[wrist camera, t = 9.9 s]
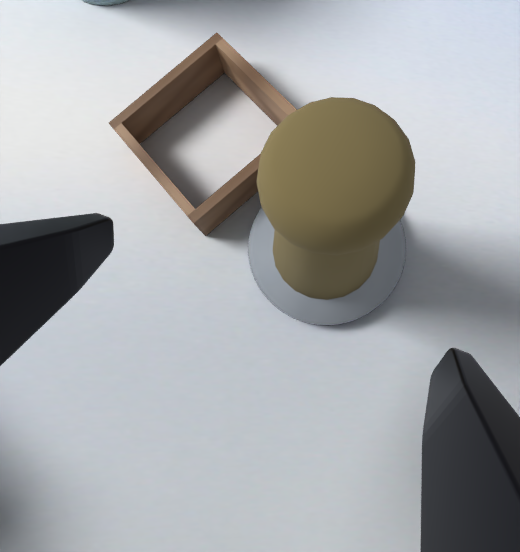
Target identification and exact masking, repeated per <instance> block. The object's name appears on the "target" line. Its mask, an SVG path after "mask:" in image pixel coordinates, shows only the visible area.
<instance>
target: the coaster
mask: <svg viewBox="0 0 520 552" xmlns="http://www.w3.org/2000/svg"><path fill="white" fill-rule="evenodd" d="M274 231H275V229H274V228H273V226H272V224H271V223H270V221H269V219H268V217H267V216H266V214H265V212H264V211H263V208H262V207H261V209H260V210H259V212H258V214H257V215H256V218H255V220H254V222H253V225H252V228H251V231H250V236H249V242H248V256H249V263H250V267H251V271H252V274H253V276H254V279H255V281H256V283H257V285H258V286H259V288H260V290H261V291H262V292H263V294H264V295H265V296H266V298H267V299H268V300H269V301H270V302H271V303H272V304H273V305H274V306H275V307H277V308H278V309H279V310H280V311H282V312H283V313H285V314H287V315H288V316H290V317H292V318H294V319H297V320H299V321H302V322H306V323H309V324H316V325H337V324H343V323H347V322H351V321H353V320H356V319H358V318H361V317H362V316H364V315H366V314H368V313H369V312H371V311H372V310H374V309H375V308H376V307H378V306H379V305H380V304H381V303H382V302H383V301H384V300H385V299H386V298H387V297H388V296H389V295H390V293H391V292H392V291H393V290H394V288H395V286H396V284H397V283H398V281H399V279H400V276H401V274H402V271H403V267H404V263H405V256H406V240H405V235H404V230H403V227H402V224H401V221H400V220H399V222H398V223H397V224H396V225H395V226H394V227H393V228H392V229H391V230H390V231H389V232H388V233H387V234H386V236H385V237H384V238H383V239H381V240H380V244H379V251H378V258H377V262H376V265H375V267H374V269H373V271H372V273H371V276H370V277H369V278H368V279H367V280H366V281H365V282H364V284H363V285H362V286H361V287H360V288H359V289H357V290H355V291H353V292H352V293H350V294H348V295H346V296H344V297H340V298H334V299H329V300H324V299H316V298H310V297H307V296H305V295H303V294H301V293H299V292H296V291H295V290H294V289H293V288H291V287H290V286H289V285H288V284H287V283H286V282H285V281H284V280H283V279H282V277H281V275H280V273H279V272H278V270H277V268H276V266H275V261H274V256H273V251H272V250H273V241H274Z"/></svg>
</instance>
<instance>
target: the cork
mask: <svg viewBox="0 0 520 552" xmlns="http://www.w3.org/2000/svg"><path fill="white" fill-rule="evenodd" d="M414 176H415V159H414V156H413V152H412V149H411V145H410V142H409V139H408V138H407V136H406V135H405V134H404V132H403V131H402V129H401V128H400V127H399V125H398V124H397V122H396V121H395V120H394V119H393V118H391V117H390V116H389V115H387V114H386V113H384V112H383V111H382V110H380V109H379V108H377V107H376V106H375V105H372V104H369V103H366V102H363V101H360V100H357V99H354V98H333V97H331V98H327V99H323V100H319V101H315V102H311V103H309V104H307V105H305V106H303V107H302V108H300V109H298V110H296V111H295V112H293V113H291V114H290V115H288V116H287V117H286V118H285V119H284V120H283V121H282V122H281V123H280V124H279V125H278V126H277V127H276V128H275V129H274V130H273V131H272V132H271V134H270V136H269V138H268V140H267V142H266V144H265V146H264V148H263V150H262V152H261V156H260V160H259V167H258V174H257V181H256V182H257V187H258V193H259V198H260V203H261V206H262V208H263V211H264V212H265V214H266V216H267V217H268V219H269V221H270V223H271V224H272V226H273V228H274V229H275V231H274V241H273V250H272V251H273V256H274V261H275V266H276V268H277V270H278V272H279V273H280V275H281V277H282V279H283V280H284V281H285V282H286V283H287V284H288V285H289V286H290V287H291V288H293V289H294V290H295V291H296V292H299V293H301V294H303V295H305V296H307V297H310V298H316V299H324V300H329V299H334V298H340V297H344V296H346V295H348V294H350V293H352V292H353V291H355V290H357V289H359V288H360V287H361V286H362V285H363V284H364V282H365V281H366V280H367V279H368V278H369V277H370V276H371V273H372V271H373V269H374V267H375V265H376V262H377V258H378V251H379V244H380V240H381V239H383V238H384V237H385V236H386V234H387V233H388V232H389V231H390V230H391V229H392V228H393V227H394V226H395V225H396V224H397V223H398V222H399V220H400V219H401V218H402V216H403V215H404V213H405V210H406V208H407V206H408V204H409V201H410V199H411V197H412V195H413V190H414Z"/></svg>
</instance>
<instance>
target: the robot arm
mask: <svg viewBox="0 0 520 552" xmlns="http://www.w3.org/2000/svg"><path fill="white" fill-rule="evenodd" d="M113 246H114V232H113V221H112V219H111V218H109V217H107V216H104V215H101V214H98V213H93V214H85V215H76V216H68V217H59V218H51V219H42V220H33V221H25V222H16V223H8V224H0V366H1V365H2V364H3V363H4V362H5V361H6V360H7V359H8V358H9V357H10V356H11V355H12V354H13V353H15V352H16V351H17V350H18V349H19V348H20V347H21V346H22V345H23V344H24V343H25V342H26V341H27V340H28V339H29V338H30V337H31V336H32V335H33V334H34V333H35V332H37V331H38V330H39V329H40V328H41V327H42V326H43V325H44V324H45V323H46V322H47V321H48V320H49V319H50V318H51V317H52V316H53V315H54V314H55V313H56V312H57V311H58V310H60V309H61V308H62V307H63V306H64V305H65V304H66V303H67V302H68V301H69V300H70V299H71V298H72V297H73V296H74V295H75V294H76V293H77V292H78V291H79V290H80V289H81V288H82V286H83V285H84V284H85V283H86V282H87V281H88V279H89V278H90V277H91V276H92V275H93V274H94V272H95V271H96V270H97V269H98V268H99V266H100V265H101V264H102V263H103V262H104V260H105V259H106V258H107V257H108V256H109V255H110V253H111V252H112V250H113ZM421 552H520V417H519V416H518V414H517V413H516V412H515V411H514V409H513V408H512V407H511V405H510V404H509V403H508V402H507V400H506V399H505V398H504V396H503V395H502V394H501V393H500V391H499V390H498V389H497V387H496V386H495V385H494V384H493V382H492V381H491V380H490V378H489V377H488V376H487V375H486V373H485V372H484V371H483V369H482V368H481V367H480V366H479V364H478V363H477V362H476V360H475V359H474V358H473V357H472V355H471V354H469V353H467V352H464V351H462V350H459V349H456V348H450V349H449V350H448V351H447V352H446V354H445V355H444V357H443V358H442V359H441V361H440V362H439V364H438V365H437V366H436V368H435V369H434V371H433V373H432V375H431V379H430V386H429V393H428V400H427V407H426V413H425V420H424V428H423V436H422V487H421Z"/></svg>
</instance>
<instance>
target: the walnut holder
mask: <svg viewBox="0 0 520 552" xmlns="http://www.w3.org/2000/svg"><path fill="white" fill-rule="evenodd" d="M224 73H225V74H226V75H227V76H228V77H229V78H230V79H231V80H232V81H233V82H234V83H235V84H236V85H237V86H238V87H239V88H240V89H241V90H242V91H243V92H244V93H245V94H246V95H247V96H248V97H249V98H250V99H251V100H252V101H253V102H254V103H255V104H256V105H257V106H258V107H259V108H260V109H261V110H262V111H263V112H264V113H265V114H266V115H267V116H268V117H269V118H270V119H271V120H272V121H273V122H274V123H275V124H276V125H277V126H278V125H279V124H280V123H281V122H282V121H283V120H284V119H285V118H286V117H287V116H288V115H290V114H291V113H293V112H295V111H296V110H297V109H296V108H295V107H294V106H293V105H292V104H290V103H289V102H288V101H287V100H286V99H285V98H284V97H283V96H282V95H281V94H280V93H279V92H278V91H277V90H276V89H275V88H274V87H273V86H272V85H271V84H270V83H269V82H268V81H267V80H266V79H265V78H264V77H263V76H262V75H260V74H259V73H258V72H257V71H256V70H255V69H254V68H253V67H252V66H251V65H250V64H249V63H248V62H247V61H246V60H245V59H244V58H243V57H242V56H241V55H240V54H239V53H238V52H237V51H236V50H235V49H234V48H233V47H231V46H230V45H229V44H228V43H227V42H226V41H225V40H224V39H223V38H222V37H221V36H220V35H219V34H218V33H216V34H214V35H213V36H212V37H211V38H210V39H208V40H207V41H206V42H205V43H204V44H202V45H201V46H200V47H199V48H198V49H196V50H195V51H194V52H193V53H192V54H190V55H189V56H188V57H187V58H186V59H184V60H183V61H182V62H181V63H180V64H178V65H177V66H176V67H175V68H174V69H173V70H171V71H170V72H169V73H168V74H167V75H165V76H164V77H163V78H162V79H161V80H159V81H158V82H157V83H156V84H155V85H153V86H152V87H151V88H150V89H149V90H147V91H146V92H145V93H144V94H143V95H141V96H140V97H139V98H138V99H137V100H135V101H134V102H133V103H132V104H131V105H129V106H128V107H127V108H126V109H125V110H124V111H122V112H121V113H120V114H119V115H118V116H116V117H115V118H114V119H113V120H112V121H110V122H109V124H110V125H111V127H112V128H113V129H114V130H115V131H116V132H117V134H118V135H119V136H120V137H121V138H122V140H123V141H124V142H125V143H126V144H127V145H128V147H129V148H130V149H131V150H132V151H133V153H134V154H135V155H136V156H137V157H138V158H139V160H140V161H141V162H142V163H143V164H144V166H145V167H146V168H147V169H148V170H149V171H150V173H151V174H152V175H153V176H154V177H155V179H156V180H157V181H158V182H159V183H160V184H161V186H162V187H163V188H164V189H165V190H166V192H167V193H168V194H169V195H170V196H171V197H172V199H173V200H174V201H175V202H176V203H177V204H178V206H179V207H180V208H181V209H182V210H183V212H184V213H185V214H186V215H187V216H188V217H189V219H190V220H191V221H192V222H193V223H194V224H195V225H196V227H197V228H198V229H199V230H200V231H201V232H202V233H203V234H204V235H205V236H206V235H207V234H209V233H210V232H211V231H212V230H213V229H214V228H216V227H217V226H218V225H219V224H220V223H222V222H223V221H224V220H225V219H226V218H227V217H229V216H230V215H231V214H232V213H233V212H234V211H236V210H237V209H238V208H239V207H240V206H242V205H243V204H244V203H245V202H246V201H247V200H249V199H250V198H251V197H252V196H253V195H254V194H256V193H257V192H258V187H257V182H256V181H257V174H258V167H259V160H260V156H261V154H260V155H259V156H257V157H256V158H255V159H254V160H253V161H251V162H250V163H249V164H248V165H247V166H246V167H244V168H243V169H242V170H241V171H240V172H238V173H237V174H236V175H235V176H234V177H233V178H231V179H230V180H229V181H228V182H227V183H226V184H224V185H223V186H222V187H221V188H220V189H218V190H217V191H216V192H215V193H214V194H213V195H211V196H210V197H209V198H208V199H207V200H205V201H204V202H203V203H202V204H201V205H200V206H198V207H197V208H196V209H195V208H194V207H193V206H192V205H191V204H190V202H189V201H188V200H187V199H186V198H185V197H184V195H183V194H182V193H181V192H180V191H179V190H178V188H177V187H176V186H175V185H174V184H173V183H172V181H171V180H170V179H169V178H168V177H167V176H166V175H165V173H164V172H163V171H162V170H161V169H160V168H159V166H158V165H157V164H156V163H155V162H154V161H153V159H152V158H151V157H150V156H149V155H148V154H147V152H146V151H145V150H144V149H143V148H142V147H141V145H140V143H141V142H143V141H144V140H145V139H146V138H147V137H149V136H150V135H151V134H152V133H153V132H155V131H156V130H157V129H158V128H159V127H161V126H162V125H163V124H164V123H165V122H166V121H168V120H169V119H170V118H171V117H172V116H174V115H175V114H176V113H177V112H178V111H180V110H181V109H182V108H183V107H184V106H186V105H187V104H188V103H189V102H190V101H191V100H193V99H194V98H195V97H196V96H197V95H199V94H200V93H201V92H202V91H203V90H205V89H206V88H207V87H208V86H209V85H211V84H212V83H213V82H214V81H215V80H216V79H218V78H219V77H220V76H221V75H222V74H224Z"/></svg>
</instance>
